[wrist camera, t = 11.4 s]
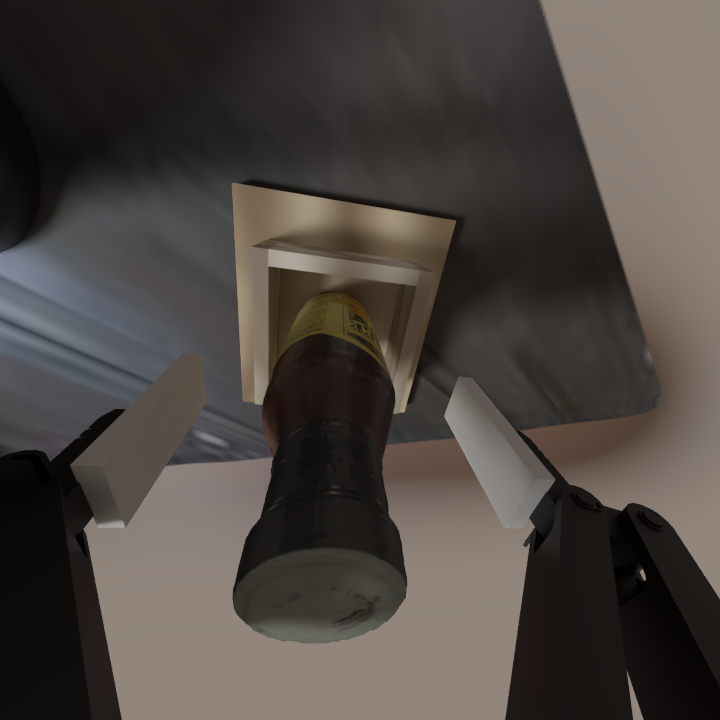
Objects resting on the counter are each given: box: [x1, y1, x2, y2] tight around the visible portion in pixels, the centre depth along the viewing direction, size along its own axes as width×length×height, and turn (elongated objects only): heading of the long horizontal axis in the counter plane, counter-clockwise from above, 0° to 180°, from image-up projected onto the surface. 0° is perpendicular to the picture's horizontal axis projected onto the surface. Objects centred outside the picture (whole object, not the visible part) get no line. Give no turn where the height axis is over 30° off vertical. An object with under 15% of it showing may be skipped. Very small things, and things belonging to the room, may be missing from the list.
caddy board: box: [232, 183, 456, 414], centre depth 23 cm, size 16×18×6 cm
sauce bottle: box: [233, 292, 407, 643], centre depth 15 cm, size 6×6×20 cm
